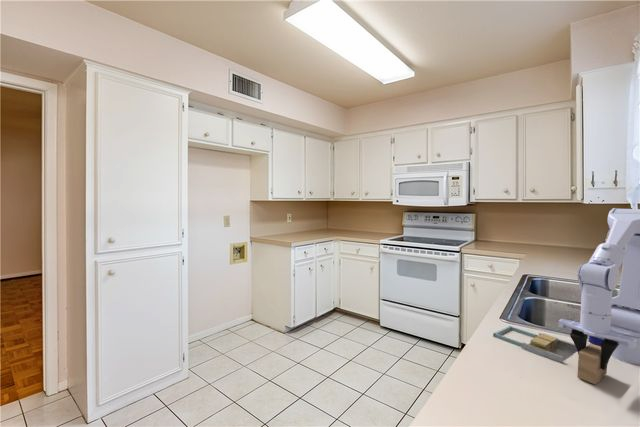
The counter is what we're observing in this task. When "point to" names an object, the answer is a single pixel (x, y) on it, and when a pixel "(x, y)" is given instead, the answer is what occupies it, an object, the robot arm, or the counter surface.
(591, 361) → the tan rectangular block
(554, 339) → the brass chip
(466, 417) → the counter surface
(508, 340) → the tray
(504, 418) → the counter surface
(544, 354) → the slot plate
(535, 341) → the brass chip
